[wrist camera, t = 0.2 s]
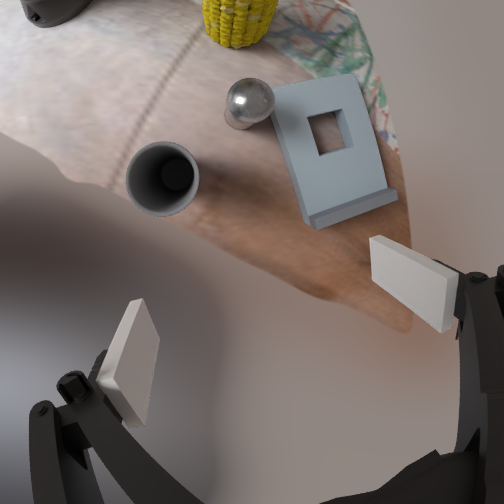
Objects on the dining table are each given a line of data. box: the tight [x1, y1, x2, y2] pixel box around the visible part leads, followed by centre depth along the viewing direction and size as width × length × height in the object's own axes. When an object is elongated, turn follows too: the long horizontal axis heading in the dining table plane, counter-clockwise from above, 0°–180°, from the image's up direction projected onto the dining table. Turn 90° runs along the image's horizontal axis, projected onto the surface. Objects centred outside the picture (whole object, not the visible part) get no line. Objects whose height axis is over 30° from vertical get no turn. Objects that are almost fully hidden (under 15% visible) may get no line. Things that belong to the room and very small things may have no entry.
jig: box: [270, 73, 398, 230], centre depth 38 cm, size 20×14×5 cm
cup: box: [126, 142, 200, 217], centre depth 32 cm, size 7×7×15 cm
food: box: [202, 0, 278, 49], centre depth 26 cm, size 15×12×10 cm
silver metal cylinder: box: [224, 78, 275, 130], centre depth 33 cm, size 5×5×10 cm
